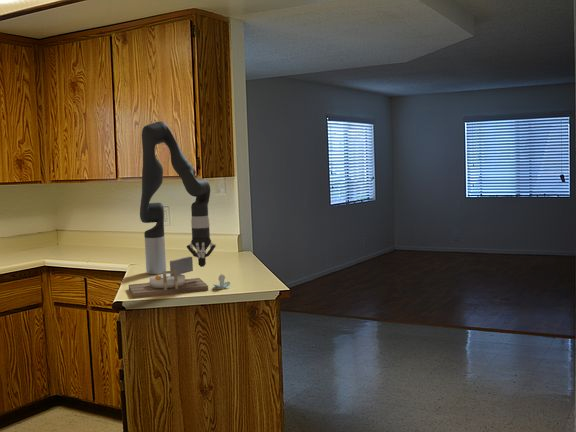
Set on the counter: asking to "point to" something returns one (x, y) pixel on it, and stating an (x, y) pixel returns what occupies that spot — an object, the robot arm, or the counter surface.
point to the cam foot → (179, 265)
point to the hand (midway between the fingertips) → (202, 266)
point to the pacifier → (222, 283)
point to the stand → (189, 286)
